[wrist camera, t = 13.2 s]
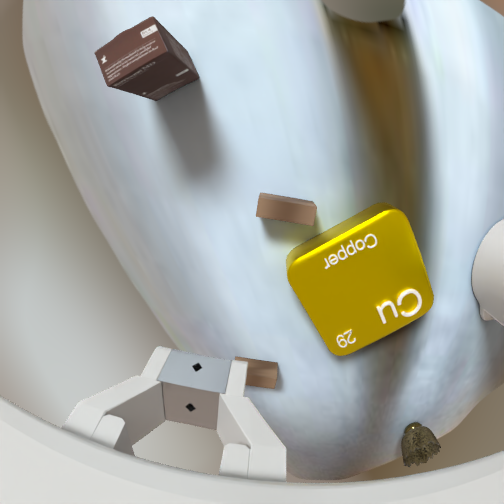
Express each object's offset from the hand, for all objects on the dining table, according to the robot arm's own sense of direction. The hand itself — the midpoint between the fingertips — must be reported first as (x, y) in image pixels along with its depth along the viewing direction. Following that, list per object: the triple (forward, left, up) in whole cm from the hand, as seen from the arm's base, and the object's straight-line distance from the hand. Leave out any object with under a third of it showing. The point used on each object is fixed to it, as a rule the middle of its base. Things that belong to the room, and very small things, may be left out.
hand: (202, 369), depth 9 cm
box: (+12, -14, -27) cm, 33 cm away
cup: (-36, +36, -27) cm, 58 cm away
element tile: (-14, +6, -27) cm, 31 cm away
